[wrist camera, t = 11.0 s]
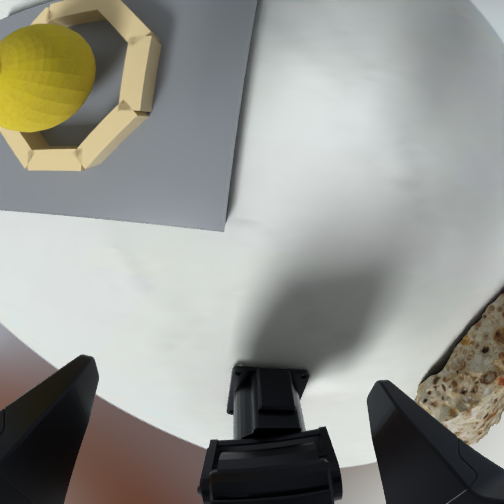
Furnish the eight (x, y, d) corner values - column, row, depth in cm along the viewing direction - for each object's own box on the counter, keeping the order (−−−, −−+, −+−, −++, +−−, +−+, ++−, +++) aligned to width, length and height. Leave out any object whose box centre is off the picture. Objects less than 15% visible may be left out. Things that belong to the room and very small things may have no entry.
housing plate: (225, 223, 19) (222, 245, 16) (-11, 203, 17) (-38, 216, 14) (258, -6, 13) (262, -30, 10) (3, 25, 11) (-24, 19, 8)
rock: (506, 249, 22) (577, 298, 13) (517, 295, 29) (564, 333, 20) (383, 408, 26) (433, 477, 17) (427, 410, 33) (464, 456, 24)
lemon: (30, 86, 13) (-59, 86, 6) (91, 24, 12) (13, -15, 5) (67, 145, 15) (-24, 170, 8) (134, 84, 14) (58, 61, 7)
